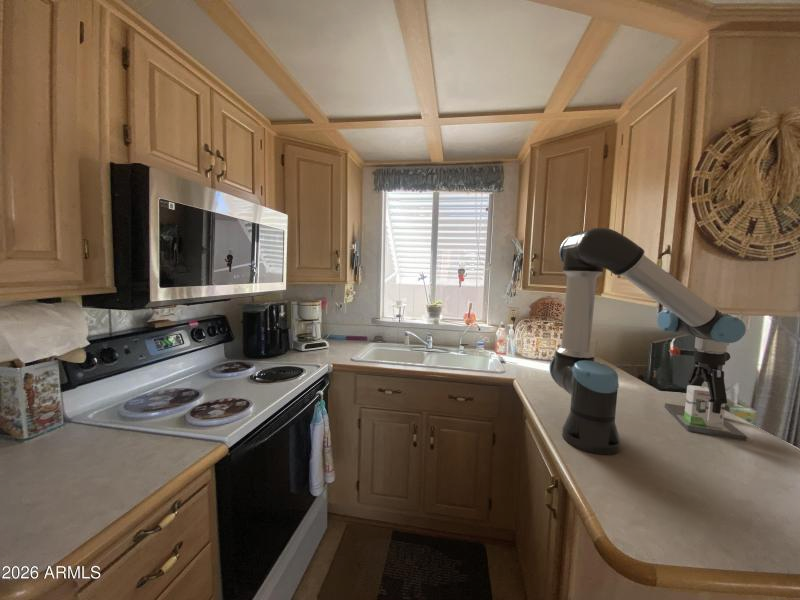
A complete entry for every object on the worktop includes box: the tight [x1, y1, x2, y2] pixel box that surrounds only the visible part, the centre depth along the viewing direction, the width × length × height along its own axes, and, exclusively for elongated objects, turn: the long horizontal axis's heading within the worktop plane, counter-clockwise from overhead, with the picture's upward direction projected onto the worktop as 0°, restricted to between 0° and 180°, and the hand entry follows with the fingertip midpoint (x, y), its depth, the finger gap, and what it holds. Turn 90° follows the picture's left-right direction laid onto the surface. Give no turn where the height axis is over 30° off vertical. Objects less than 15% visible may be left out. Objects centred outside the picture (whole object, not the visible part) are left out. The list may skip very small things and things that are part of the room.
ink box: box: [684, 384, 728, 428], centre depth 106 cm, size 9×5×12 cm, turn 69°
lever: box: [669, 346, 731, 362], centre depth 116 cm, size 3×17×4 cm, turn 67°
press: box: [664, 365, 748, 442], centre depth 111 cm, size 21×14×25 cm
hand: (703, 413), depth 107 cm, fingers open, 13 cm apart
